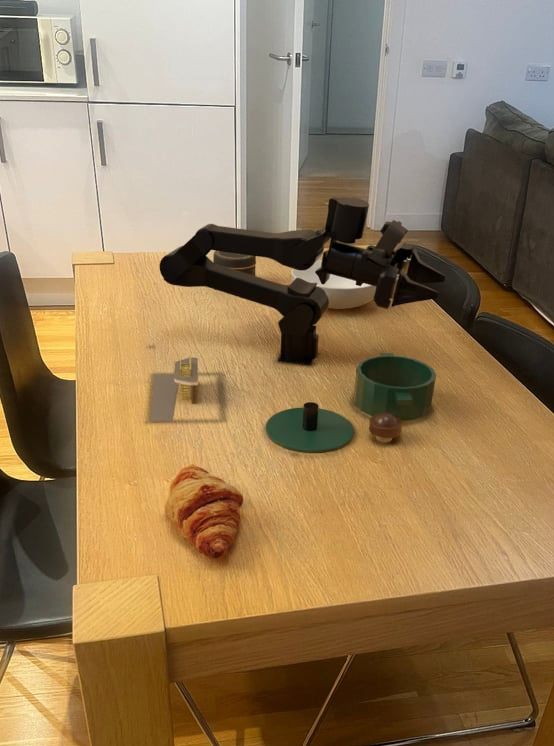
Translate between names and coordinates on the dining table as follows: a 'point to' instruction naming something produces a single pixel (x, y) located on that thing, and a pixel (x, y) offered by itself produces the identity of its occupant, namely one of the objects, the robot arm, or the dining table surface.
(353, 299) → the serving bowl
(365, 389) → the pot
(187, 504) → the croissant
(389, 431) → the mushroom
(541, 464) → the dining table surface
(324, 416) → the lid
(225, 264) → the jar
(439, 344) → the dining table surface
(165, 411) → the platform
